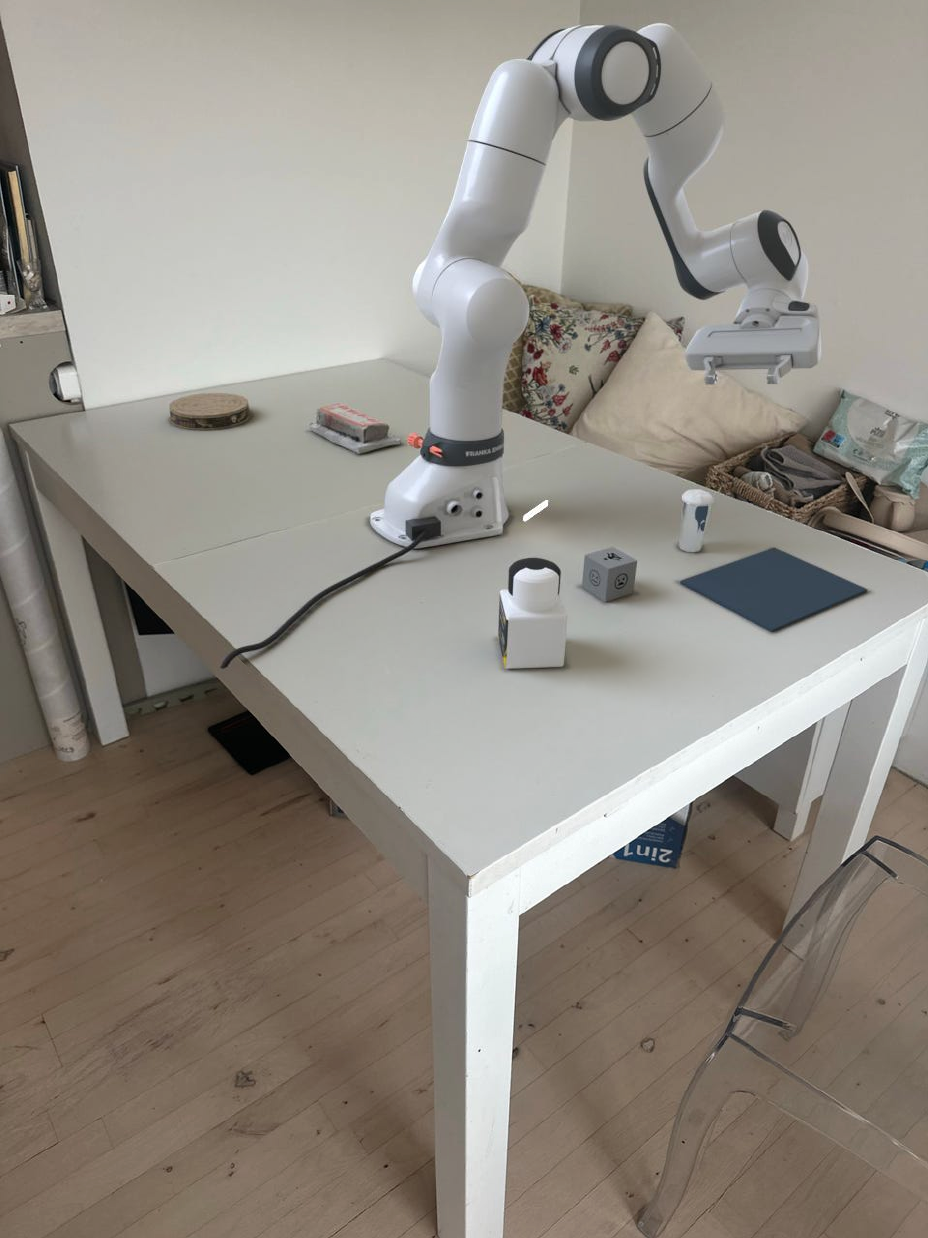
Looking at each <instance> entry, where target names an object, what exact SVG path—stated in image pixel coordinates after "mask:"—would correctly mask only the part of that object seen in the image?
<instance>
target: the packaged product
mask: <svg viewBox="0 0 928 1238" xmlns="http://www.w3.org/2000/svg"><path fill="white" fill-rule="evenodd" d="M309 430H310V432H313V433H315V434H317V435H319V436H321V437H323V438H325V439H326V440H328V441H330V442H331V443H333V444H336V445H339V446H342V447H344V448H346V449H347V450H350V451H352V452H354V453H356V454H357V455H360V454H364V453H367V452H370V451H374V450H377V449H381V448H384V447H388V446H393V445H401V437H397V436H395V435H393V434H390V433H389V430H390V426H389V424H388V423H386V422H383V421H381V420H379V419H376V418H374V417H372V416H371V415H368V414H366V413H363V412H362V411H359V410H357V409H355V408H353V407H350V406H348V405H346V404H342V403H336V404H331V405H326V406H322V407H319V408H317V409H316V421H315V422H314V423H313V422H311V423H309Z"/></svg>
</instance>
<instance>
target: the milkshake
mask: <svg viewBox="0 0 928 1238" xmlns="http://www.w3.org/2000/svg"><path fill="white" fill-rule="evenodd" d="M721 489H722V487H719V489H718V491H716V494H715V496H714V497H713V496H712V494H711V493H709V492H708V491H706V490H703V489H699V488H698V489H688V490H686V491H685V492H683V493H682V495H681V504H680V505H681V507H680V525H679V541H678V542H679V543H678V547H679V549H680V550H681V551H683V552H686V553H698V552H700V551H701V550H702V547H703V543H704V540H705V535H706V531H707V528H708V527H707V526H708V522H709V519H710V515H711V511H712V507H713V503H714V500H715V498H716V497H718V496H717V495H719V493H720V491H721Z"/></svg>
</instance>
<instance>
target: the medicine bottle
mask: <svg viewBox="0 0 928 1238" xmlns="http://www.w3.org/2000/svg"><path fill="white" fill-rule="evenodd" d="M561 575H562V570H561V568H560V566H558V565H557V564H556V563H555V562H553V561H551V560H550V559H549V560H548V559H546V558H540V557H525V558H520V559H518V560H516V561H514V562H513V563H512V564H511V565H510V566H509V568H508V581H507V582H508V583H507V589H505V588H503V589H501V590H500V591H499V601H498V603H499V604H498V630H497V631H498V632H497V640H498V644H499V648H500V652H501V658H502V661H503V666H504V669H506V670H510V669H512V670H513V669H541V668H542V669H543V668H562V667H564V665H565V655H566V654H565V652H566V643H567V631H568V630H567V629H568V617H569V616H568V614H567V611H566V609H565V606H564V603H563V600H562V597H561V595H560V591H561Z"/></svg>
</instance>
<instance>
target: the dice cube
mask: <svg viewBox="0 0 928 1238" xmlns="http://www.w3.org/2000/svg"><path fill="white" fill-rule="evenodd" d="M637 567H638V559H636V558H634V557H632V556H630V555H628V554H627V553H625V552H624V551H622V550H620V549H619V548H616V547H614V546H609V547H607V548H603V549H600V550H597V551H593V552H589V553H585V554H584V560H583V569H582V571H583V572H582V579H581V580H582V582H581V588H582V589H584V590H585V591H587V592H589V593H590V594H591V595H593V596H594V597H596V598H598V599H600V600H601V601H602V602H604V603H608V602H611V601H614V600H617V599H620V598H623V597H626V596H629V595H633V594H634V592H635V591H634V590H635V585H636V583H635V582H636V575H637Z"/></svg>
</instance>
